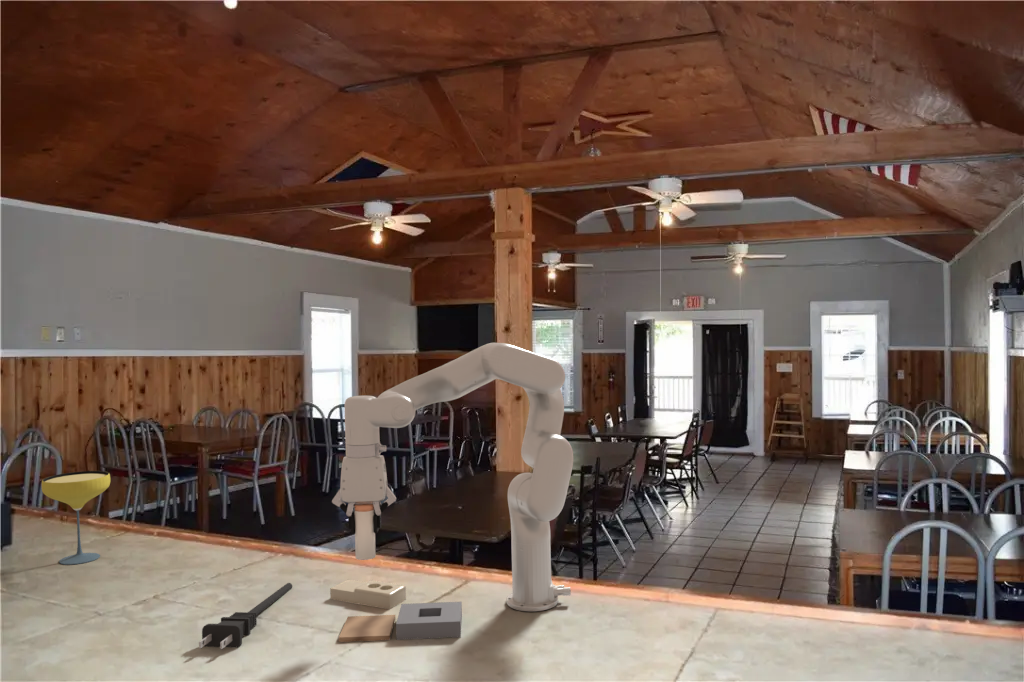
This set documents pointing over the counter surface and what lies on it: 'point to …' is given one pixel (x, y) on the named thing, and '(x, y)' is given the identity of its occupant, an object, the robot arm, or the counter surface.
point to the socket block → (429, 620)
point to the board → (367, 628)
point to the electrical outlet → (369, 593)
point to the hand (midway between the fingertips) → (365, 531)
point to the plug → (364, 531)
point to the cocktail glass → (76, 500)
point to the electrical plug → (236, 624)
